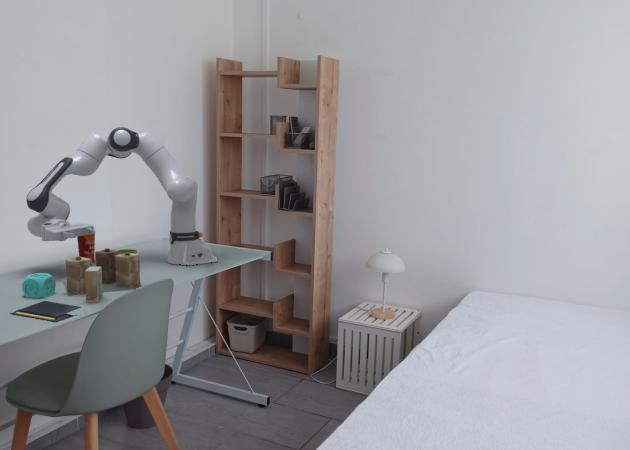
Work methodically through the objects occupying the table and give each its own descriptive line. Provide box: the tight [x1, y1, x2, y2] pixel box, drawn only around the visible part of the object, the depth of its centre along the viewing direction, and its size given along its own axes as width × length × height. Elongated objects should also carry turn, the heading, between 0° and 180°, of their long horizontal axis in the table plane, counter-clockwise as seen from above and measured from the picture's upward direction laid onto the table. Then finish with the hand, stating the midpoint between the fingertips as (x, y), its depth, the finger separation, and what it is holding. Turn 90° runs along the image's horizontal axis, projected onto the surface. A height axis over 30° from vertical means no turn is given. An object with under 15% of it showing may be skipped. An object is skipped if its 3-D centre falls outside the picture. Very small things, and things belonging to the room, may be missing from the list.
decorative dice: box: [21, 272, 57, 299], centre depth 216 cm, size 8×8×8 cm
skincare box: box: [85, 266, 104, 303], centre depth 212 cm, size 6×4×12 cm
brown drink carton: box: [94, 247, 119, 284], centre depth 235 cm, size 6×6×13 cm
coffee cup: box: [76, 228, 97, 264], centre depth 269 cm, size 8×8×15 cm
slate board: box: [62, 281, 143, 297], centre depth 231 cm, size 27×20×1 cm
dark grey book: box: [9, 300, 82, 323], centre depth 201 cm, size 20×2×15 cm
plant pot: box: [115, 248, 138, 254], centre depth 256 cm, size 9×9×9 cm
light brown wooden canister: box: [65, 255, 93, 296], centre depth 221 cm, size 6×6×13 cm
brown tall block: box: [115, 252, 141, 289], centre depth 230 cm, size 6×6×13 cm
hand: (84, 234), depth 239 cm, fingers open, 8 cm apart
